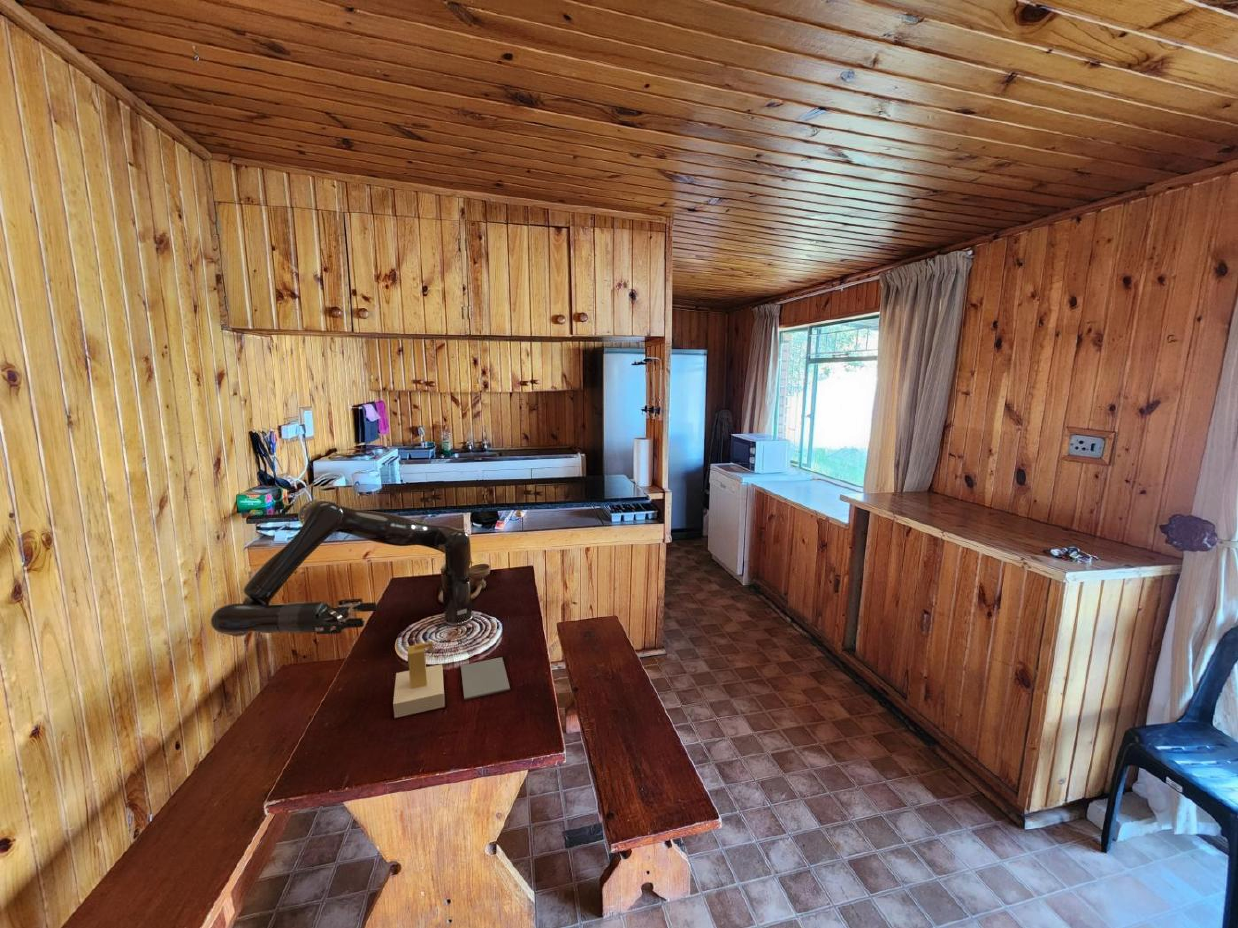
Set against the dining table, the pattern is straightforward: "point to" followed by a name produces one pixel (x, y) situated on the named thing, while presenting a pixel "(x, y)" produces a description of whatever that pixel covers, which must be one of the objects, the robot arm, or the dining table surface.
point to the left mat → (484, 678)
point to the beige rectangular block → (418, 693)
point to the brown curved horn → (475, 573)
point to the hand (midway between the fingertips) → (370, 614)
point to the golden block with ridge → (418, 664)
